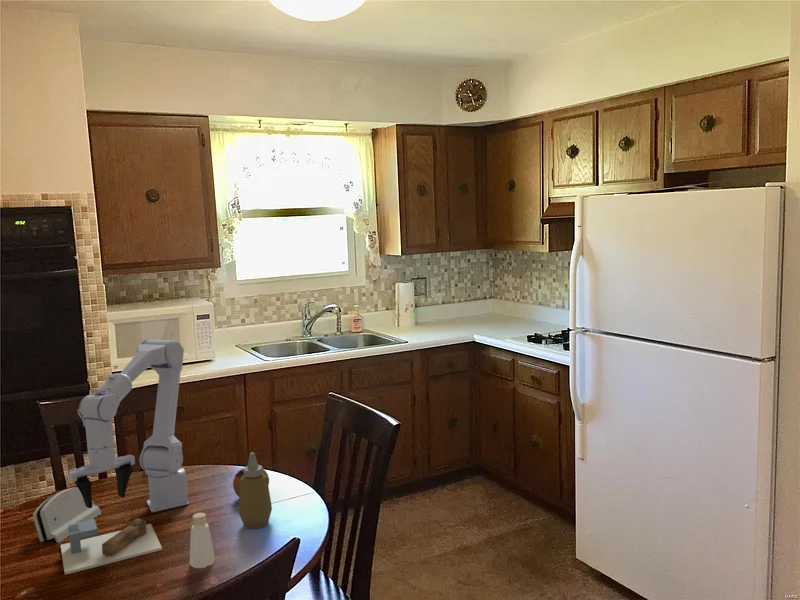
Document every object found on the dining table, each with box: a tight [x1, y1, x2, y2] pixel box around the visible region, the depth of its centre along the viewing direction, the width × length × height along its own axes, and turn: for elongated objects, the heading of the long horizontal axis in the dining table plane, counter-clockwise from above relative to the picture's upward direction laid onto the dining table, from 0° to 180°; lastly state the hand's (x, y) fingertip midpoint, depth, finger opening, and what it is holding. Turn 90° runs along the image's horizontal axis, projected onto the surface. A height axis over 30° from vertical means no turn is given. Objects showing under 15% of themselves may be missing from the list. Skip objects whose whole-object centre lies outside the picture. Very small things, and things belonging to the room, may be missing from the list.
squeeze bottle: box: [238, 452, 273, 529], centre depth 164 cm, size 8×8×18 cm
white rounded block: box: [32, 486, 102, 544], centre depth 167 cm, size 17×5×10 cm, turn 168°
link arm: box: [102, 518, 147, 556], centre depth 156 cm, size 13×4×3 cm, turn 165°
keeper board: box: [60, 518, 163, 576], centre depth 155 cm, size 20×14×6 cm
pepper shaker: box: [189, 512, 216, 569], centre depth 147 cm, size 5×5×11 cm
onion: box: [232, 467, 270, 498], centre depth 181 cm, size 10×9×10 cm
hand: (105, 501), depth 158 cm, fingers open, 7 cm apart
